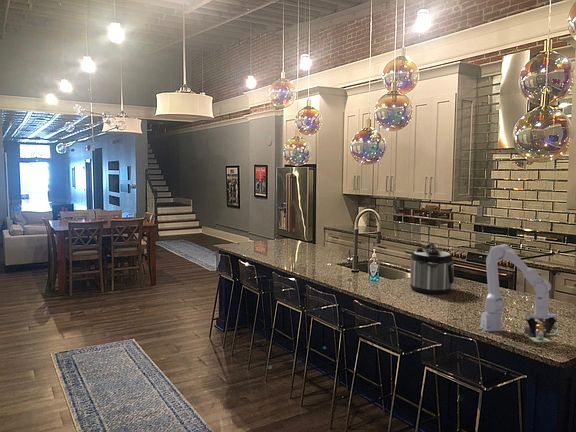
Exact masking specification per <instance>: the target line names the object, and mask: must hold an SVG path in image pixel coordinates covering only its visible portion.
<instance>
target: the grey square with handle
mask: <svg viewBox="0 0 576 432" xmlns="http://www.w3.org/2000/svg"><path fill="white" fill-rule="evenodd" d="M523 333H524V334H525V333H526V335H527V334H528V335H527V336H529V337H530V336H531V337H530V338H532V337H536V326H535V334H532V333H531V331H530V327H529V326H525V327H524V332H523ZM550 334H555V329H551V331H550ZM547 335H548V333H546V329H544V334H543V337H545V338H547Z"/></svg>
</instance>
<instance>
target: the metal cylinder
mask: <svg viewBox="0 0 576 432" xmlns="http://www.w3.org/2000/svg"><path fill="white" fill-rule="evenodd" d="M535 327H536V339H537V340H543V334H544V330H545V329H544V328H545V326H544V325H542V323H541V324H540V323H536V326H535Z"/></svg>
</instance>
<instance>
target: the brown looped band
mask: <svg viewBox="0 0 576 432" xmlns="http://www.w3.org/2000/svg"><path fill="white" fill-rule="evenodd" d="M533 313H535V311H533V312H531V313H530V314H533ZM525 316H526V314H525ZM525 316H524V319H525V320H526V318H525ZM537 320H538V321H539V322H541V324H542V325H544V327H546V322H545V319H537ZM526 323H527V324H528V322H527V321H526Z"/></svg>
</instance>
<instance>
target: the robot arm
mask: <svg viewBox="0 0 576 432" xmlns="http://www.w3.org/2000/svg"><path fill="white" fill-rule="evenodd" d="M501 260H505V261H510V262H511V263H512V264H513V265H515V267H516V268H518V269H519V270H520V271H521V272H522V276H523V277H524V278H525V280H527V281H528V283H529V284H530V285H531V286H532V287H533V291H534V292H535V297H534V299H535V301H534V312H535V313H533V312H532V313H533V314H531V313H526V314H525V315H526V316H524V319H525V318H526V319H525V321H526V323H527V322H528V323H527V324H528V327H530V331H531V333H532V334H535V327H536V324H538V323H537V321H536V320H538V319H544V321H545V322H546V325H545V330H546V333H547V335H550V334H551V333H550V331H551V330H553V327H554V325H555V324H556V322H557V316H558V315H557V314H555V313H549V305H550V304H549V302H550V301H549V300H550V291H551V289H552V284H551V283H550V281H549V280H548V279H547V280H546V279H545V278H544V277H542V276H541V275H540V274H539V273H538V270H537V269H534V268H532V267H528V265H527V264H526V263H525V262H524V261H523V260H522V259H521V257H519V255H518V254H517V253H516V251H515V250H514V249H513V248H511V247H510V245H509V244H506V243H502V244H499V245H494V246H493V247H492V248H490V249H489V253H488V254H487V255H486V257H485V264H486V265H485V266H486V280H487V282H486V283H487V293H488V294H487V295H486V298H485V303H484V309H485V310H486V311H484V312H481V314H480V325H479V327H480V328H482V330H484V331H486V332H505V330H506V329H504V328H502V322H503V321H502V317H503V311H502V309H504V308H505V302H504V300H503V296H502V294H501V293H500V281H499V269H498V265H499V264H498V263H499V262H500V261H501Z"/></svg>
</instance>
